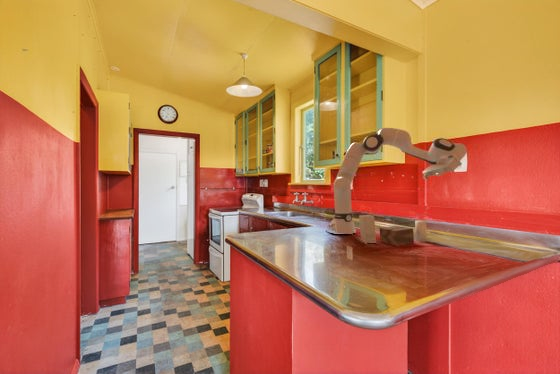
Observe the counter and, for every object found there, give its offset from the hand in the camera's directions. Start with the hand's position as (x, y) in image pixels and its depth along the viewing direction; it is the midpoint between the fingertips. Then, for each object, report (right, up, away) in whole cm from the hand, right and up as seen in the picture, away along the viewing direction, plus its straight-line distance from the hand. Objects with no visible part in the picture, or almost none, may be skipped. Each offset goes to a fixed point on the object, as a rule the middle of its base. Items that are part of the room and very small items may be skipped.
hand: (430, 176), depth 143 cm
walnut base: (-21, -37, -4) cm, 43 cm away
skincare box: (-36, -38, -1) cm, 52 cm away
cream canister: (-7, -36, -2) cm, 37 cm away
